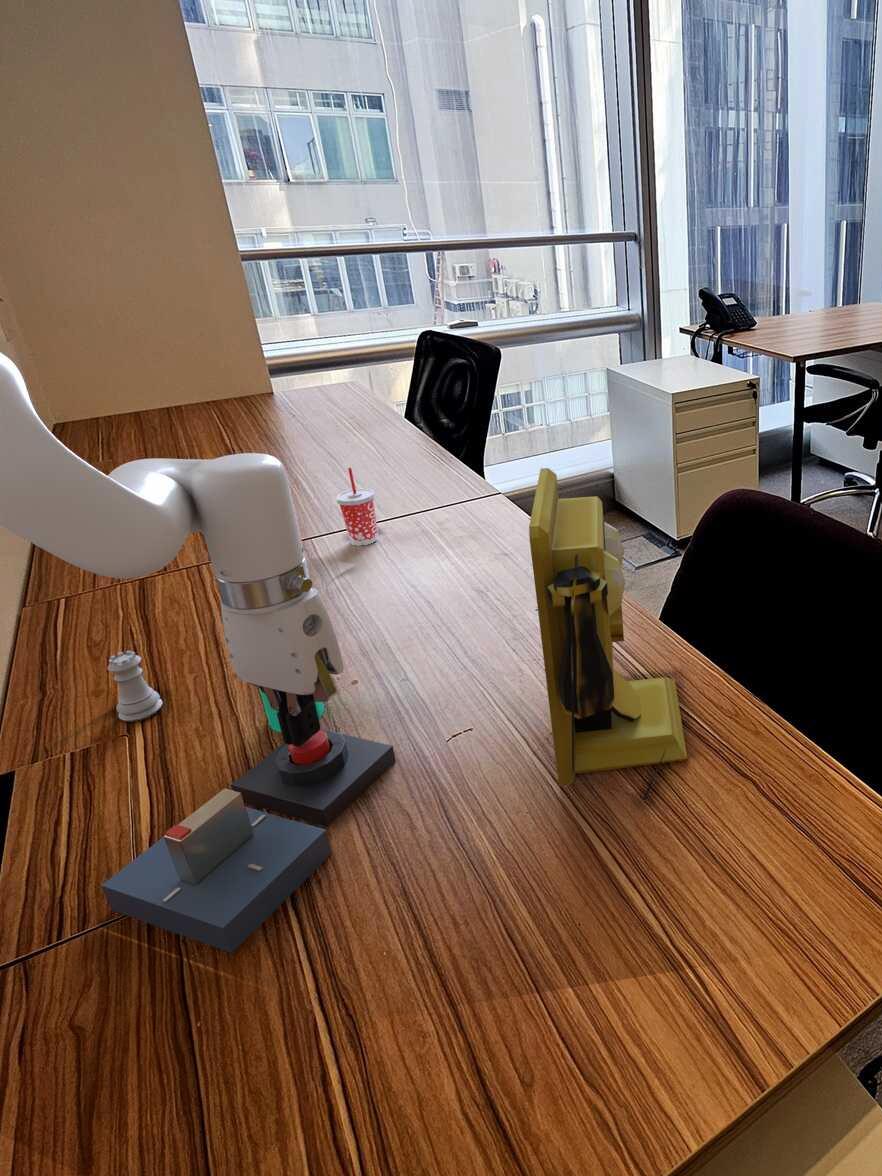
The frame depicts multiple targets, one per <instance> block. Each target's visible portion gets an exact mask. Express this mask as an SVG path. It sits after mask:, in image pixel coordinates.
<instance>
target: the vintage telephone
mask: <svg viewBox="0 0 882 1176" xmlns="http://www.w3.org/2000/svg"><path fill="white" fill-rule="evenodd" d="M558 487H559V486H558V477H557V473H556V472H554V471H553V470H552V469H550V468H549V467H544V468H543V467H541V468H540V470H539V473H538V480H537V484H536V490H535V494H534V499H533V505H532V509H531V510H532V511H531V515H530V520H529V525H528V535H529V537H528V538H529V546H530V547H529V548H530V554H531V563H532V571H533V580H534V588H535V595H536V604H537V605H536V606H537V613H538V622H539V629H540V630H539V631H540V639H541V648H542V655H543V663H544V673H545V682H546V688H547V689H546V690H547V698H548V706H549V714H550V715H549V716H550V723H551V731H552V739H553V748H554V757H555V763H556V773H557V782H558V787H565V786H568V785H570V784H571V783H572V782H573V781H574V779H575V777H576V775H577V776H579V777H580V776H581V777H583V778H585V779H588V780H590V781H593V782H595V783H597V784H599V785H603V786H605V787H608V788H610V789H612V790H615V791H618V792H621V793H624V794H625V795H628V796H631V797H633V798H635V799H637V800H640V801H644V802H646V801H647V798H648V796H649V793H650V790H651V788H652V786H653V783H654V781H655V778H656V775H657V773H658V771H659V768H660V765H661V764H668V763H667V762H669V763H676V762H675V761H678V762H684V761H686V760H687V759H688V754H687V748H686V747H687V746H686V742H685V735H684V728H683V723H682V716H681V709H680V704H679V698H678V697H679V696H678V691H677V690H678V689H677V686H676V679H675V678H669V677H655V678H654V677H653V678H646V679H645V678H644V679H638V680H637V679H636V680H628V681H627V679H625V678H624V677H623V675H621V674H620V673H619V672H618V671H617V670H615V669H614V652H613V651H614V647H613V645H614V643H620V642H625V632H624V619H623V607H622V606H623V605H622V604H623V598H624V591H625V585H626V579H625V576H624V574H623V573H624V572H623V570H622V566H623V562H624V561H623V560H624V554H625V548H624V546H623V542H622V539H621V536H620V534H619V531H618V529H616V528H615V527H613V526H612V525H610V524H609V523H608V522H606V521H604V509H603V501H602V500H601V499H600V498H599V496H598V495H597V496H596V495H595V496H582V497H568V498H567V497H566V498H560V497H559V488H558ZM660 763H661V764H660ZM652 765H657V768H656V770H655V772H654V774H653V777H652V779H651V781H650V783H649V786H648V788H647V790H646V792H645V795H644V797H643V799H642V798H639V797H636V796H634V795H631V794H629V793H626V792H624V791H622V790H619V789H616V788H614V787H611V786H609V785H607V784H604V783H602V782H599V781H597V780H595V779H591V778H589V777H588V776H584V775H582V774H584V773H585V774H586V773H593V772H600V771H603V772H604V771H610V770H619V769H626V768H627V769H628V768H635V767H643V766H644V767H645V766H652ZM577 773H578V774H577Z"/></svg>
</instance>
